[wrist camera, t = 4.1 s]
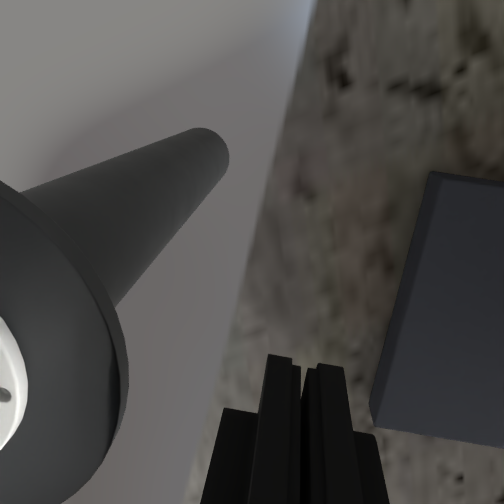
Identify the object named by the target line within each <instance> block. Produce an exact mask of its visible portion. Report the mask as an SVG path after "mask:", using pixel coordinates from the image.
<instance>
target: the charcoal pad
mask: <svg viewBox="0 0 504 504" xmlns="http://www.w3.org/2000/svg"><path fill="white" fill-rule="evenodd" d="M369 407H370V411H371V416H372V420H373V424H374V426H375V427H379V428H385V429H391V430H397V431H403V432H409V433H415V434H420V435H426V436H432V437H438V438H444V439H450V440H456V441H462V442H468V443H473V444H479V445H485V446H491V447H497V448H503V449H504V182H501V181H494V180H487V179H481V178H474V177H468V176H461V175H454V174H448V173H441V172H435V171H431V172H430V173H429V177H428V181H427V184H426V188H425V192H424V196H423V200H422V203H421V207H420V211H419V215H418V218H417V222H416V226H415V230H414V234H413V237H412V241H411V245H410V249H409V252H408V256H407V260H406V264H405V268H404V271H403V275H402V279H401V283H400V286H399V290H398V294H397V298H396V302H395V305H394V309H393V313H392V317H391V320H390V324H389V328H388V332H387V336H386V339H385V343H384V347H383V351H382V354H381V358H380V362H379V366H378V370H377V373H376V377H375V381H374V385H373V388H372V392H371V396H370V400H369Z"/></svg>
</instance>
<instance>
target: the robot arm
mask: <svg viewBox="0 0 504 504" xmlns="http://www.w3.org/2000/svg"><path fill="white" fill-rule="evenodd" d="M27 396H28V380H27V374H26V369H25V363H24V360H23V357H22V355H21V352H20V350H19V347H18V345H17V342H16V340H15V338H14V337H13V335H12V333H11V332H10V330H9V328H8V327H7V325H6V323H5V322H4V320H3V319H2V318H1V317H0V450H1V449H2V448H3V447H4V445H5V444H6V443H7V442H8V441H9V439H10V438H11V437H12V436H13V434H14V433H15V431H16V429H17V428H18V426H19V424H20V422H21V421H22V419H23V415H24V412H25V408H26V404H27ZM200 504H390V503H389V499H388V494H387V489H386V484H385V479H384V475H383V470H382V465H381V460H380V456H379V451H378V446H377V442H376V438H375V436H374V435H373V434H367V433H362V432H356V431H353V428H352V421H351V414H350V408H349V401H348V394H347V387H346V380H345V374H344V368H343V367H340V366H334V365H328V364H322V363H318V364H317V367H316V369H313V368H308V369H307V372H306V377H305V382H304V387H303V392H302V396H301V366H296V365H292V358H288V357H282V356H277V355H271V354H268V358H267V363H266V369H265V375H264V381H263V386H262V392H261V398H260V404H259V410H258V414H257V413H252V412H246V411H241V410H235V409H230V408H224V409H223V413H222V417H221V421H220V425H219V429H218V433H217V437H216V441H215V446H214V450H213V454H212V458H211V462H210V466H209V470H208V474H207V478H206V482H205V486H204V490H203V494H202V498H201V502H200Z"/></svg>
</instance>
